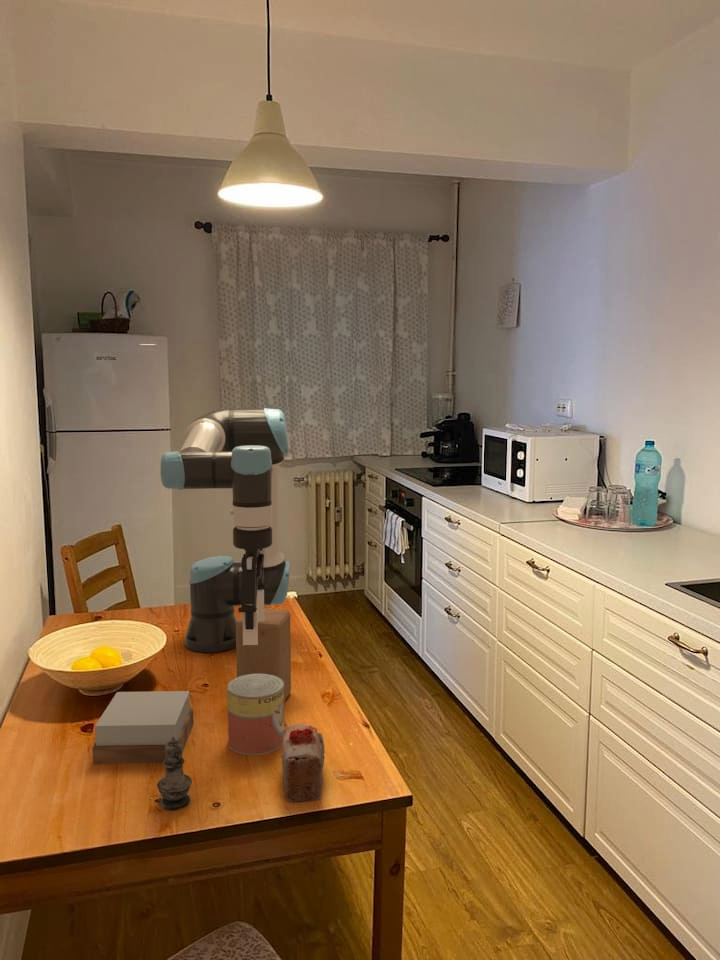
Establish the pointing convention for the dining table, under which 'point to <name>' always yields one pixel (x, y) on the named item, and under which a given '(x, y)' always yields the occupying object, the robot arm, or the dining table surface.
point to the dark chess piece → (174, 779)
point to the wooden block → (267, 648)
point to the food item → (302, 762)
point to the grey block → (143, 718)
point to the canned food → (255, 713)
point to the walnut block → (139, 749)
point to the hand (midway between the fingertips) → (254, 632)
